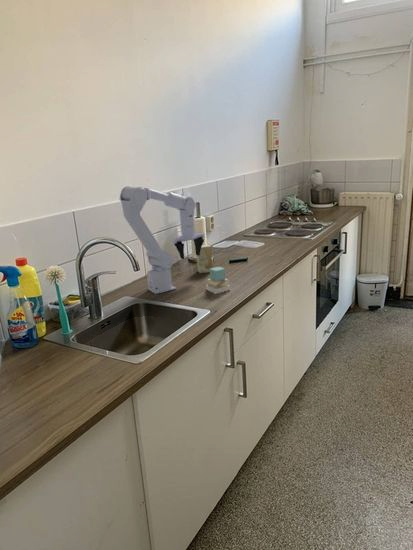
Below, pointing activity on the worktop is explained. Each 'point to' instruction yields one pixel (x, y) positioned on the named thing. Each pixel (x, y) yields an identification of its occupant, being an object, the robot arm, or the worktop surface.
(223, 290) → the tower base
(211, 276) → the teal cube
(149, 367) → the worktop surface
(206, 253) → the skincare box
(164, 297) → the worktop surface
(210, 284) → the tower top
